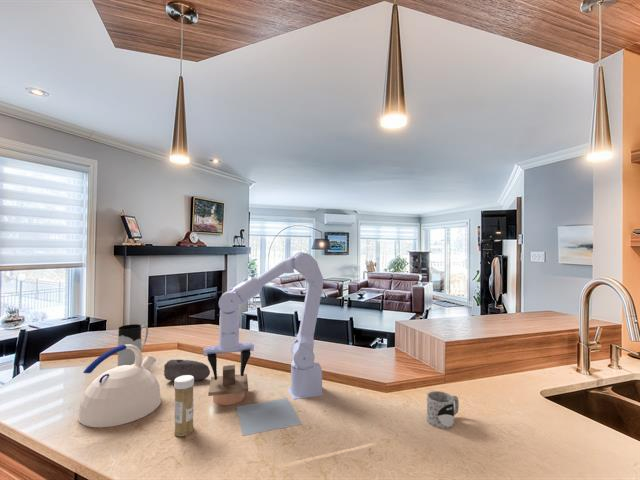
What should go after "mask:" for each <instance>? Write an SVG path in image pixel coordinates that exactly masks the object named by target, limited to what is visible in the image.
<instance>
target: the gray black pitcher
mask: <svg viewBox="0 0 640 480" xmlns="http://www.w3.org/2000/svg"><path fill="white" fill-rule="evenodd" d="M144 327H145V328H146V329H145V330H146V331H145V338H144V341H143V342H142V329H143V328H144ZM148 335H149V327H148V325H147V324H143V325H141V324H125V325H121V326H119V327H118V337H117V347H118V346H121V345H128V344H131V345H134V346H136V347H138V348H139V350H140V351H141V352H142V350H143V348H144V347H145V345H146V343H147V338H148V337H149V336H148ZM134 362H135V354H134V352H133V351H132V350H131V349H124V350H122V351H119V352H117V365H116V367H118V366H123V365H132V364H134Z"/></svg>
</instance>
